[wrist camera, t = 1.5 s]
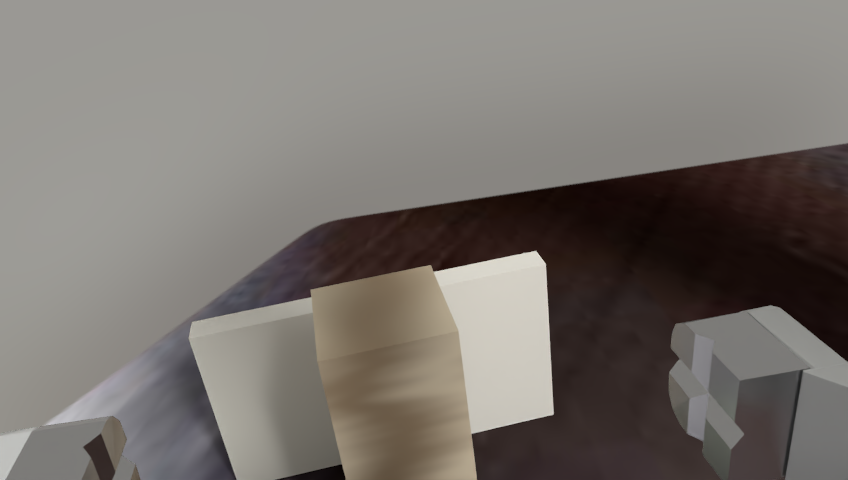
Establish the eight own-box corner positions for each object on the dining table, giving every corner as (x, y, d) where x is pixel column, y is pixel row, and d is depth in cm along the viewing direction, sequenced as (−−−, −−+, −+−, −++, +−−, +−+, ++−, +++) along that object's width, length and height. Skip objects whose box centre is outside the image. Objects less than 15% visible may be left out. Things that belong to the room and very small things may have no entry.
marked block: (462, 500, 36) (429, 261, 29) (490, 591, 31) (458, 330, 25) (365, 524, 35) (310, 286, 29) (379, 620, 30) (317, 361, 24)
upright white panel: (544, 398, 42) (536, 250, 37) (553, 414, 40) (545, 263, 36) (240, 468, 40) (191, 321, 35) (239, 488, 38) (188, 338, 34)
